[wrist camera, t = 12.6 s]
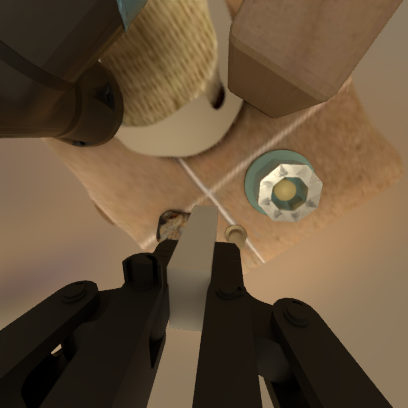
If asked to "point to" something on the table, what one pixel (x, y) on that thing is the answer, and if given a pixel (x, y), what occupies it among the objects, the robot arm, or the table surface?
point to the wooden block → (300, 49)
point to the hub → (281, 189)
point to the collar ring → (303, 199)
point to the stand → (236, 235)
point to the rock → (171, 226)
